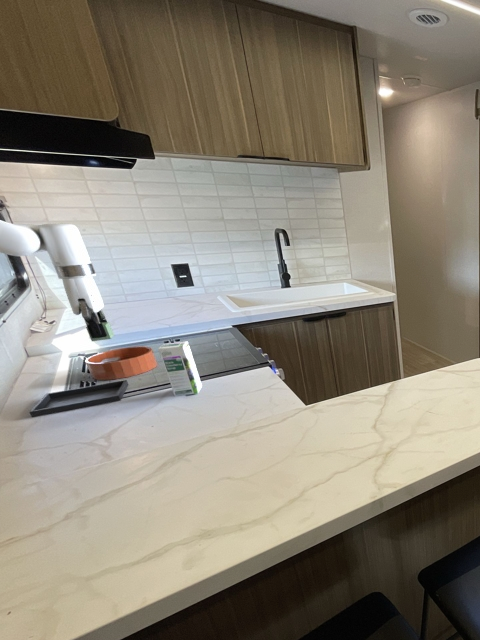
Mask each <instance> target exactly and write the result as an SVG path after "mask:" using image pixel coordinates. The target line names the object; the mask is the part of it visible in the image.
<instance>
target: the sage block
mask: <svg viewBox="0 0 480 640" xmlns="http://www.w3.org/2000/svg"><path fill="white" fill-rule="evenodd" d="M102 324H103V327H104V329H105V332H106V334H107V336H106V337H101V338H92V337H91V335H90V332H89V330H88V328H87V326H86V327H85V328H86V331H87V333H88V335H89V339H90V340H91V342H99V341H106V340H112V338H113V337H114V336H115V334H114V331H113V329H112V326H111V324H110V321H107V322H104V323H102Z"/></svg>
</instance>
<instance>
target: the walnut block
mask: <svg viewBox="0 0 480 640" xmlns="http://www.w3.org/2000/svg"><path fill="white" fill-rule="evenodd" d="M115 361H121V358H120V357H115V358H108V359H103V360H102V361H101V363H107V362H115Z"/></svg>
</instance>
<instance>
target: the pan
mask: <svg viewBox="0 0 480 640" xmlns="http://www.w3.org/2000/svg"><path fill="white" fill-rule="evenodd" d="M128 387H129V382H128V380H127V379H124V380H118V381H113V382H105V383H99V384H94V385H88V386H83V387H77V388H71V389H66V390H65V389H64V390H61V391H54V392H47V393H45V394H44V396H42V397H41V398H40V399H39V401H38V402H37V403H36V404H35V406H33V407H32V409H30V410H29V414H30V416H31V418H36V417H42V416H47V415H52V414H53V415H54V414H58V413H63V412H67V411H73V410H79V409H84V408H88V407H94V406H100V405H105V404H110V403H114V402H120V401H122V399H123V397H124V395H125V393H126V391H127V390H128V389H127V388H128Z"/></svg>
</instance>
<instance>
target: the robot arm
mask: <svg viewBox="0 0 480 640" xmlns="http://www.w3.org/2000/svg"><path fill="white" fill-rule="evenodd" d="M43 252H47V255H48V257H49V259H50V261H51V264H52V266H53V268H54V271H55V273H56V275H57V278H58V279H59V280H62V284H63V285H62V286H63V288H64V291H65V294H66V297H67V300H68V303H69V306H70V308H71V311H72V313H73V315H75V316H79V315H81V317H82V318H83V320H84V323H85V325H86V327H87V328H88V330H89V332H90V335H91V337H92V338H101V337H106V336H107V334H106V332H105V329H104V327H103V324H102V323H104V322H108V320H107V319H106V315H105V314H104V311H103V309H104V308H105V303H104V300H103V297H102V295H101V292H100V290H99V287H98V285H97V284H96V281H95V279H94V277H96V276H97V273H96V270H95V267H94V265H93V263H92V260H91V258H90V255H89V252H88V250H87V247H86V244H85V243H84V239H83V237H82V234H81V233H80V230H79V228H78V226H77V225H74V224H73V223H42V224H29V223H10V222H8V221H5V220H1V219H0V254H4V255H8V256H13V257H27V256H30V255H32V254H33V255H34V254H36V253H43Z"/></svg>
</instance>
